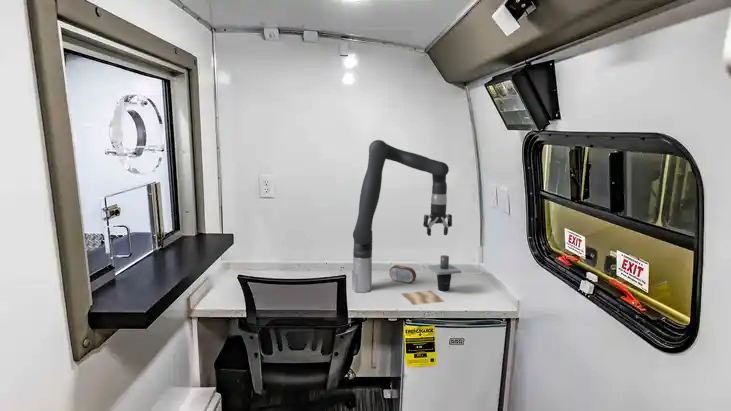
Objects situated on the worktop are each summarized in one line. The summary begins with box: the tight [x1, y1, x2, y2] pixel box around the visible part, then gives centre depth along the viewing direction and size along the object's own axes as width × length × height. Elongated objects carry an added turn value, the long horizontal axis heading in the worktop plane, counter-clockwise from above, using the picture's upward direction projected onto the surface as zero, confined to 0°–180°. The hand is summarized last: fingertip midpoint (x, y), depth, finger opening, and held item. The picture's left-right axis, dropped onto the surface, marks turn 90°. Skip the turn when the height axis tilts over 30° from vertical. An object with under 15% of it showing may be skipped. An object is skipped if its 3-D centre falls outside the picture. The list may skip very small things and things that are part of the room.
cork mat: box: [400, 290, 446, 306], centre depth 222 cm, size 16×16×1 cm
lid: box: [427, 254, 462, 275], centre depth 229 cm, size 12×12×7 cm
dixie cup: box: [436, 274, 452, 294], centre depth 231 cm, size 8×8×11 cm
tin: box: [389, 264, 417, 284], centre depth 247 cm, size 15×3×8 cm, turn 58°
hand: (437, 235), depth 230 cm, fingers open, 8 cm apart
